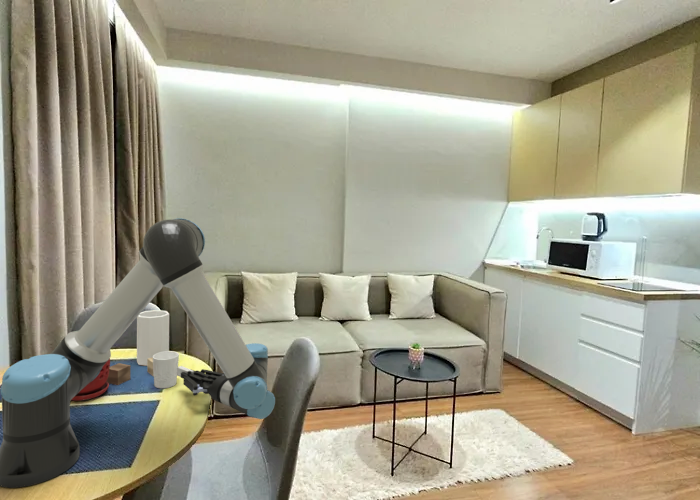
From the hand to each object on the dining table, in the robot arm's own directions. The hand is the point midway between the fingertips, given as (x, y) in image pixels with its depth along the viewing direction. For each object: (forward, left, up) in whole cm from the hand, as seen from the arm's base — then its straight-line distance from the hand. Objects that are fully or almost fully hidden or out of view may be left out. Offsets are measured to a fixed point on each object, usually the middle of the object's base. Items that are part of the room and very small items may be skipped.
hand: (179, 370), depth 126 cm
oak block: (+4, +18, -7) cm, 20 cm away
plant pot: (-19, +19, -7) cm, 28 cm away
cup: (+9, +29, -7) cm, 31 cm away
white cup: (0, +7, -7) cm, 10 cm away
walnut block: (-8, +21, -7) cm, 23 cm away
